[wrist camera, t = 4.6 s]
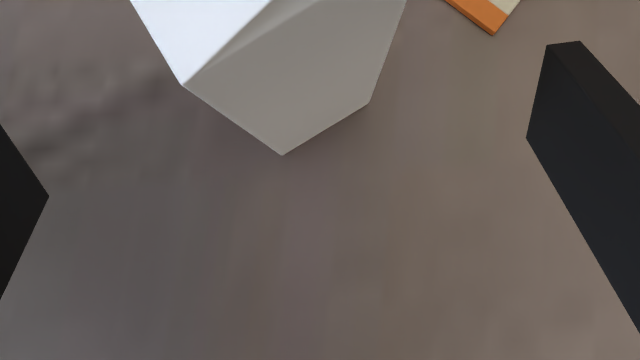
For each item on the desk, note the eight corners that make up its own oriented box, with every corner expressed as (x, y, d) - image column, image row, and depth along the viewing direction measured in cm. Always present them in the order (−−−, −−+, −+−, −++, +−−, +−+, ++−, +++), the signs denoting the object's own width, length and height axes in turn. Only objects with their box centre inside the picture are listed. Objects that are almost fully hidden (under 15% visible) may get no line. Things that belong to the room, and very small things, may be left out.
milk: (316, 16, 29) (263, -551, 7) (371, 104, 29) (493, -198, 7) (227, 70, 29) (-105, -325, 7) (280, 159, 29) (109, 36, 7)
